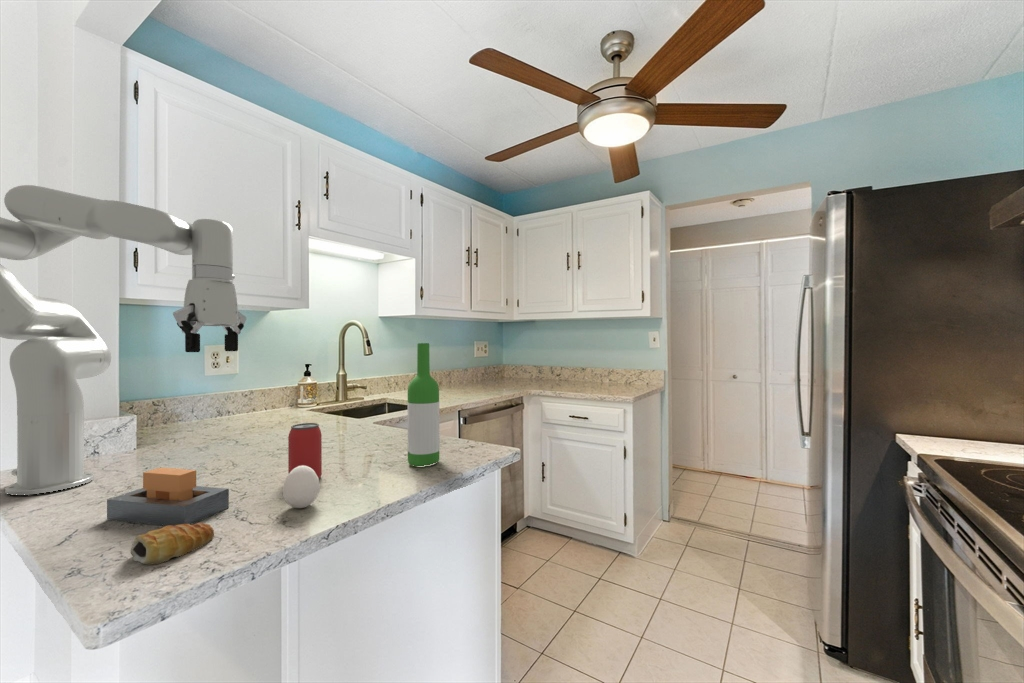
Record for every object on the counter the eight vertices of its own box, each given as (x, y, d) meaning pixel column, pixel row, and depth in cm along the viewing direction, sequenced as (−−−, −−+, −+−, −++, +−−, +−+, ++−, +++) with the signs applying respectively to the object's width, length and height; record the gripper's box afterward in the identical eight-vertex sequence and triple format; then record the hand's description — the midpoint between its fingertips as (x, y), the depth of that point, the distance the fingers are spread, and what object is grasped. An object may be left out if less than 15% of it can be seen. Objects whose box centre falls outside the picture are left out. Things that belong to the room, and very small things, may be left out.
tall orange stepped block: (143, 515, 74) (142, 472, 74) (160, 508, 77) (160, 467, 77) (179, 519, 72) (179, 475, 72) (196, 512, 75) (196, 470, 75)
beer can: (308, 485, 89) (308, 428, 89) (281, 483, 90) (281, 427, 90) (327, 475, 96) (327, 422, 96) (302, 474, 97) (302, 421, 97)
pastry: (200, 532, 68) (200, 509, 68) (224, 542, 64) (224, 517, 64) (125, 559, 59) (125, 532, 59) (148, 572, 56) (148, 543, 56)
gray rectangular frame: (106, 519, 72) (106, 499, 72) (157, 501, 80) (157, 483, 80) (184, 527, 69) (184, 506, 69) (228, 507, 77) (228, 488, 77)
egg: (324, 507, 77) (324, 466, 77) (287, 517, 73) (287, 473, 73) (314, 498, 82) (313, 459, 82) (279, 506, 78) (279, 465, 78)
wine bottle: (433, 458, 110) (433, 343, 110) (444, 465, 103) (443, 343, 103) (403, 462, 106) (403, 343, 106) (412, 470, 99) (412, 343, 99)
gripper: (231, 281, 105) (231, 350, 104) (160, 270, 88) (160, 352, 88) (257, 281, 103) (257, 350, 103) (190, 269, 86) (190, 352, 86)
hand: (212, 351), depth 95 cm, fingers open, 9 cm apart
